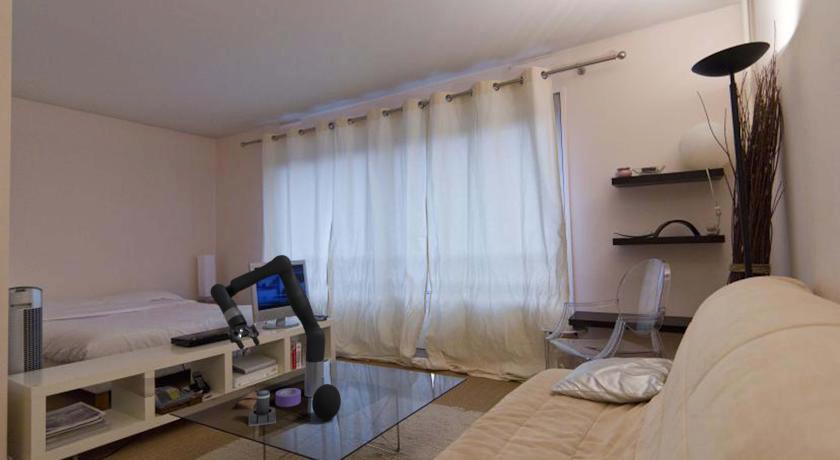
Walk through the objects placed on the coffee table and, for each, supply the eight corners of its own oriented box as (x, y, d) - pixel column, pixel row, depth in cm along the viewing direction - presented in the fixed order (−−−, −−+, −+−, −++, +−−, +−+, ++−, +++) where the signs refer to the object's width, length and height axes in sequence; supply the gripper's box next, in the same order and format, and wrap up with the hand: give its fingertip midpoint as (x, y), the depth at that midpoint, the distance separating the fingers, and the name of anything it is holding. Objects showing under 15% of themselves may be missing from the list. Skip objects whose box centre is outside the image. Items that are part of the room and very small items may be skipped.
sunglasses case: (253, 409, 187) (246, 396, 188) (239, 417, 187) (232, 404, 187) (266, 395, 205) (260, 384, 205) (254, 402, 205) (247, 391, 205)
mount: (274, 413, 184) (275, 405, 184) (276, 423, 174) (276, 414, 174) (248, 416, 180) (249, 408, 180) (248, 426, 170) (249, 417, 170)
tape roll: (277, 408, 190) (277, 397, 190) (273, 400, 200) (273, 389, 200) (302, 404, 195) (303, 394, 196) (298, 396, 206) (298, 386, 206)
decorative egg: (325, 427, 170) (327, 391, 171) (305, 420, 177) (306, 385, 178) (346, 418, 181) (347, 383, 182) (325, 411, 187) (327, 378, 188)
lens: (268, 415, 180) (269, 389, 181) (268, 419, 175) (270, 393, 176) (255, 416, 178) (256, 390, 179) (255, 421, 173) (256, 394, 174)
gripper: (225, 315, 187) (241, 344, 181) (251, 312, 200) (267, 338, 194) (217, 326, 190) (233, 354, 184) (243, 321, 202) (258, 348, 196)
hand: (250, 346), depth 189 cm, fingers open, 8 cm apart
